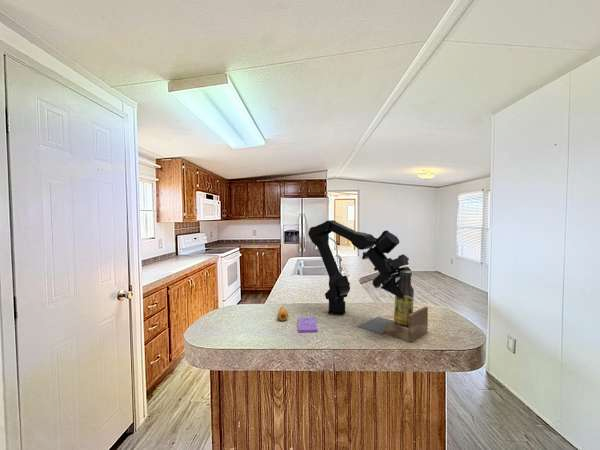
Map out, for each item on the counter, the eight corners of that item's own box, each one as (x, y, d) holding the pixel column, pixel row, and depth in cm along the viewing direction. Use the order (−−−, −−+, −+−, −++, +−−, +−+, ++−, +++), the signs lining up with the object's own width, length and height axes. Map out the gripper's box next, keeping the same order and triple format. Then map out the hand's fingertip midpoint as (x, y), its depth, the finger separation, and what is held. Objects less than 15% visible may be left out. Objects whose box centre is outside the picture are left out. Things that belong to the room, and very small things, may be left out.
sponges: (315, 321, 121) (315, 316, 121) (317, 334, 108) (317, 329, 108) (297, 321, 121) (297, 316, 121) (298, 334, 108) (298, 329, 108)
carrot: (286, 323, 119) (290, 313, 120) (275, 319, 119) (279, 308, 119) (284, 312, 139) (288, 303, 139) (275, 308, 139) (279, 299, 139)
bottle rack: (385, 334, 106) (385, 309, 106) (402, 325, 115) (402, 301, 114) (411, 342, 99) (411, 315, 99) (427, 332, 108) (427, 307, 107)
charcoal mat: (357, 326, 113) (357, 325, 113) (378, 317, 123) (378, 316, 123) (381, 334, 106) (381, 333, 106) (401, 323, 116) (401, 322, 116)
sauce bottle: (393, 328, 106) (393, 272, 105) (394, 322, 112) (395, 268, 111) (413, 331, 104) (413, 273, 103) (413, 324, 109) (414, 270, 108)
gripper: (380, 249, 103) (411, 288, 95) (406, 245, 116) (435, 278, 108) (360, 269, 109) (388, 307, 101) (387, 263, 122) (413, 296, 114)
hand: (407, 296), depth 106 cm, fingers closed on sauce bottle, 6 cm apart
